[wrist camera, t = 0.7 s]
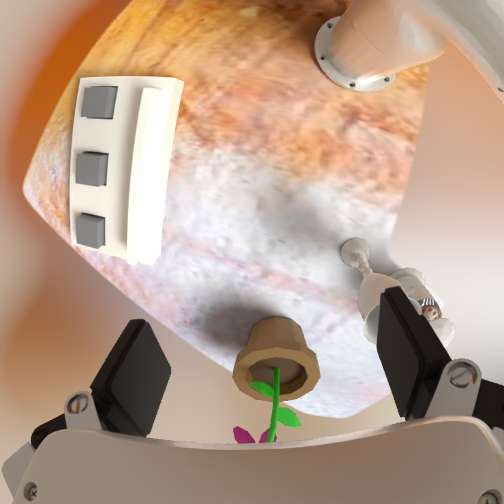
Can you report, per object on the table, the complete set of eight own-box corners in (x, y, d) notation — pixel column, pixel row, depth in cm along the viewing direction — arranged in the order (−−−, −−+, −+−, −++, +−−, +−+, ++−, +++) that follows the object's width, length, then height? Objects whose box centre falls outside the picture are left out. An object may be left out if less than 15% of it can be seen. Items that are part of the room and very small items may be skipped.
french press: (433, 275, 45) (505, 369, 22) (404, 324, 50) (451, 425, 27) (393, 261, 44) (465, 367, 21) (364, 315, 49) (405, 429, 26)
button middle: (87, 151, 37) (76, 154, 34) (110, 154, 37) (99, 156, 34) (86, 178, 38) (75, 183, 36) (108, 182, 38) (97, 186, 36)
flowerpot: (226, 346, 54) (198, 489, 27) (260, 294, 48) (246, 463, 21) (289, 370, 56) (290, 505, 29) (329, 325, 50) (357, 477, 23)
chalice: (380, 235, 42) (431, 298, 26) (370, 273, 45) (408, 345, 29) (338, 229, 43) (373, 294, 26) (329, 268, 45) (354, 345, 29)
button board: (94, 79, 34) (64, 76, 27) (184, 81, 35) (164, 73, 27) (83, 236, 46) (58, 254, 39) (160, 255, 46) (141, 278, 39)
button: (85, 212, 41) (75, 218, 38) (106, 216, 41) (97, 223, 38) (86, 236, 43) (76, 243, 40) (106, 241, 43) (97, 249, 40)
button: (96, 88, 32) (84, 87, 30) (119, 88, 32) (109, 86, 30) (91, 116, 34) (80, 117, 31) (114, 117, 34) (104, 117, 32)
